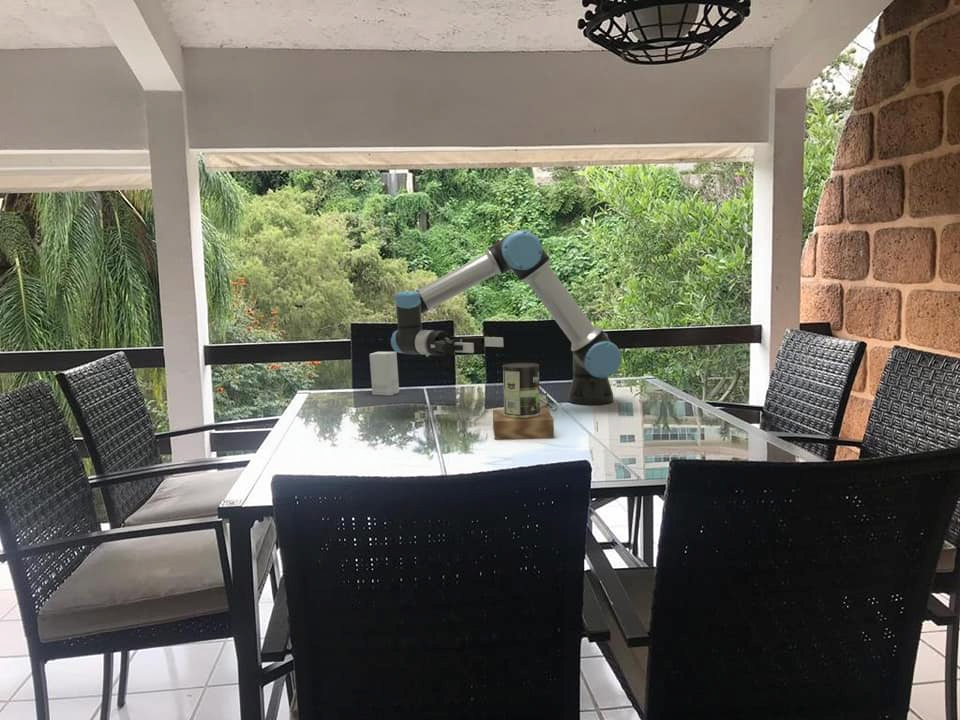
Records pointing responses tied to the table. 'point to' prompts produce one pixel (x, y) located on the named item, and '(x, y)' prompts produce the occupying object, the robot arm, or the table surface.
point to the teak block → (523, 426)
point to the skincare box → (384, 373)
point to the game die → (544, 402)
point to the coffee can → (521, 390)
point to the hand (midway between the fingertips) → (488, 345)
